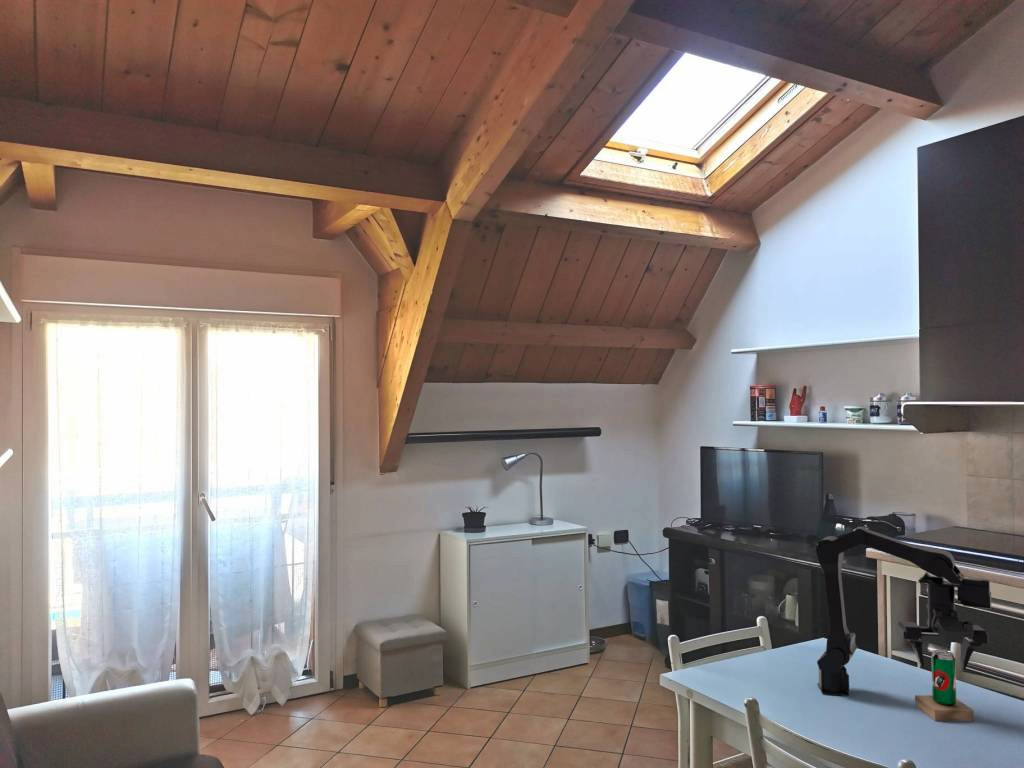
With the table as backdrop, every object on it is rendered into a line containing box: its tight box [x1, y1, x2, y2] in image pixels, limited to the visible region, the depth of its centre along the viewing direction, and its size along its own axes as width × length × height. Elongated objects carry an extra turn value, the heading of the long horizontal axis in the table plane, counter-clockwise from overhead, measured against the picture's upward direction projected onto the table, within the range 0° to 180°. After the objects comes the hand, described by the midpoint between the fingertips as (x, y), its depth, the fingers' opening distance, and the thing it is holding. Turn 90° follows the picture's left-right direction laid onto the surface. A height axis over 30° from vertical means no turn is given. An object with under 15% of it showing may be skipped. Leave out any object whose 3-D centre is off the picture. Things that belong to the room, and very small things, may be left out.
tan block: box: [914, 694, 975, 722], centre depth 180 cm, size 9×9×2 cm
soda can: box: [930, 649, 957, 706], centre depth 180 cm, size 5×5×12 cm
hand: (942, 667), depth 180 cm, fingers open, 9 cm apart
